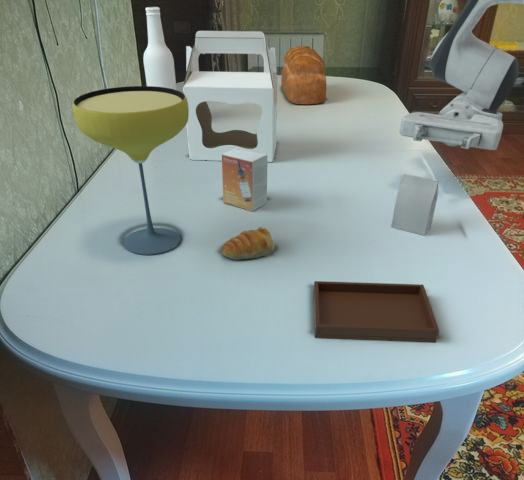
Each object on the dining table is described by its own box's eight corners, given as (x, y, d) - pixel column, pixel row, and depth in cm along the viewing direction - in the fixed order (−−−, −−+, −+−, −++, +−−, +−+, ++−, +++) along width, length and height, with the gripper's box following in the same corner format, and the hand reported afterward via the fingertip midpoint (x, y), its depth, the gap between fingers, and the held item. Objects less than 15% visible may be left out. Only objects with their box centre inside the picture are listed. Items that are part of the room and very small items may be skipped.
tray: (420, 295, 81) (423, 284, 80) (436, 342, 72) (439, 330, 71) (313, 292, 82) (314, 280, 81) (314, 337, 73) (315, 326, 71)
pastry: (232, 266, 89) (231, 247, 86) (215, 251, 93) (214, 232, 91) (277, 253, 92) (278, 234, 90) (259, 239, 97) (259, 220, 94)
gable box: (188, 160, 132) (176, 34, 114) (198, 144, 142) (188, 26, 124) (273, 162, 130) (275, 35, 112) (277, 146, 140) (279, 27, 123)
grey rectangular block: (424, 235, 98) (435, 184, 92) (391, 227, 101) (399, 177, 94) (430, 228, 100) (441, 178, 94) (398, 220, 103) (406, 171, 97)
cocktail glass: (216, 248, 94) (206, 102, 78) (123, 275, 86) (91, 119, 71) (175, 213, 106) (160, 81, 90) (90, 234, 98) (57, 94, 83)
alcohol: (157, 127, 155) (142, 9, 136) (147, 120, 161) (132, 6, 142) (183, 123, 158) (173, 8, 139) (173, 116, 164) (161, 5, 145)
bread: (315, 87, 196) (317, 41, 186) (327, 104, 176) (331, 53, 166) (279, 88, 195) (280, 42, 185) (288, 105, 175) (289, 54, 165)
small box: (222, 203, 110) (220, 154, 103) (238, 195, 114) (236, 146, 107) (252, 212, 106) (252, 161, 100) (267, 203, 110) (268, 153, 103)
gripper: (412, 101, 111) (392, 116, 102) (510, 114, 104) (498, 131, 94) (407, 131, 115) (387, 148, 106) (501, 145, 108) (489, 165, 98)
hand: (440, 140), depth 100 cm, fingers open, 8 cm apart
